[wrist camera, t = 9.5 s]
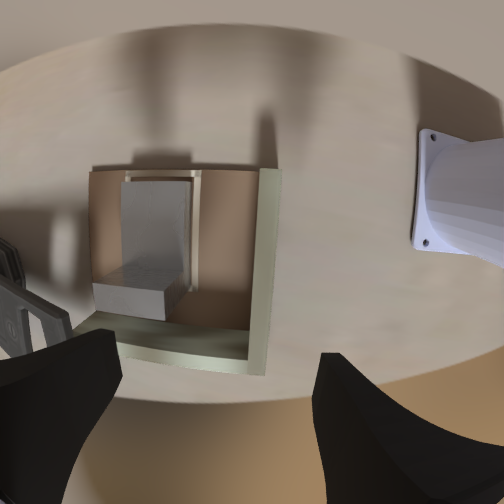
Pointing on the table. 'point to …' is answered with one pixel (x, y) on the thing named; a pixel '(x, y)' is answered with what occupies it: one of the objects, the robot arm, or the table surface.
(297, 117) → the table surface
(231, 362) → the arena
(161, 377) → the table surface
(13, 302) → the zipper pull
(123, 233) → the angle bracket
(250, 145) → the table surface
